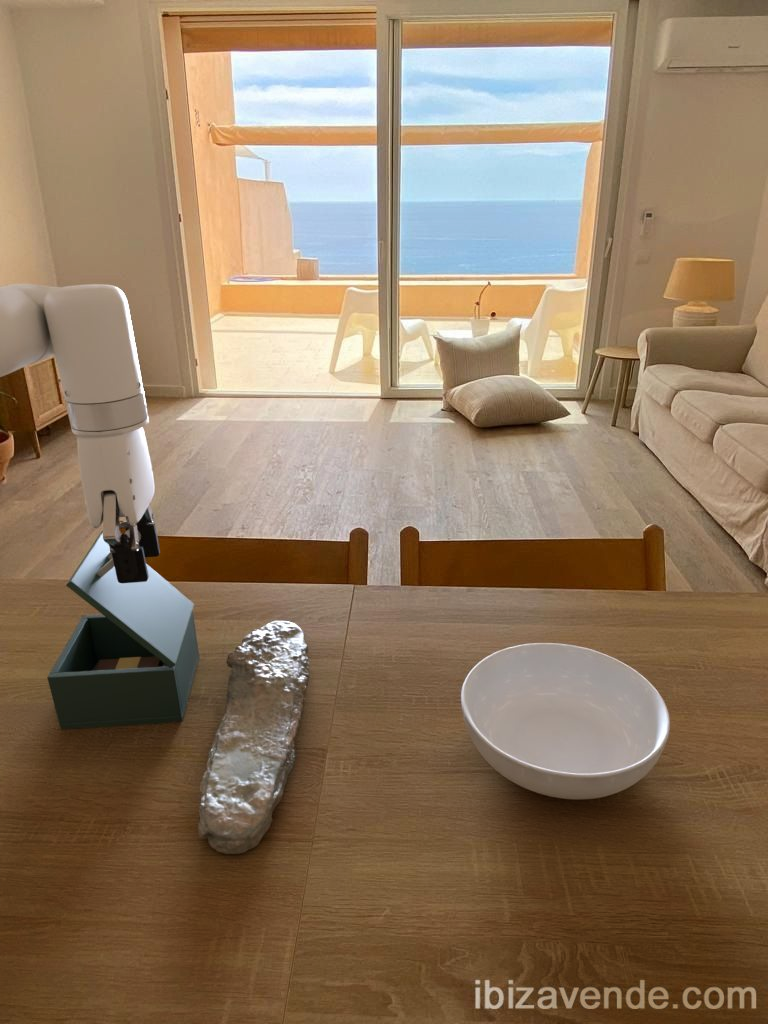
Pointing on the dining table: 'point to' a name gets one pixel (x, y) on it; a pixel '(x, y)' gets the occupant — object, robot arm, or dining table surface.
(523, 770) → the serving bowl
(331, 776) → the dining table surface
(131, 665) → the chocolate bar
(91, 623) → the green bin
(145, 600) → the bin lid
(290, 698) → the foil wrapped baguette
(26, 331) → the robot arm
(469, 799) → the dining table surface
